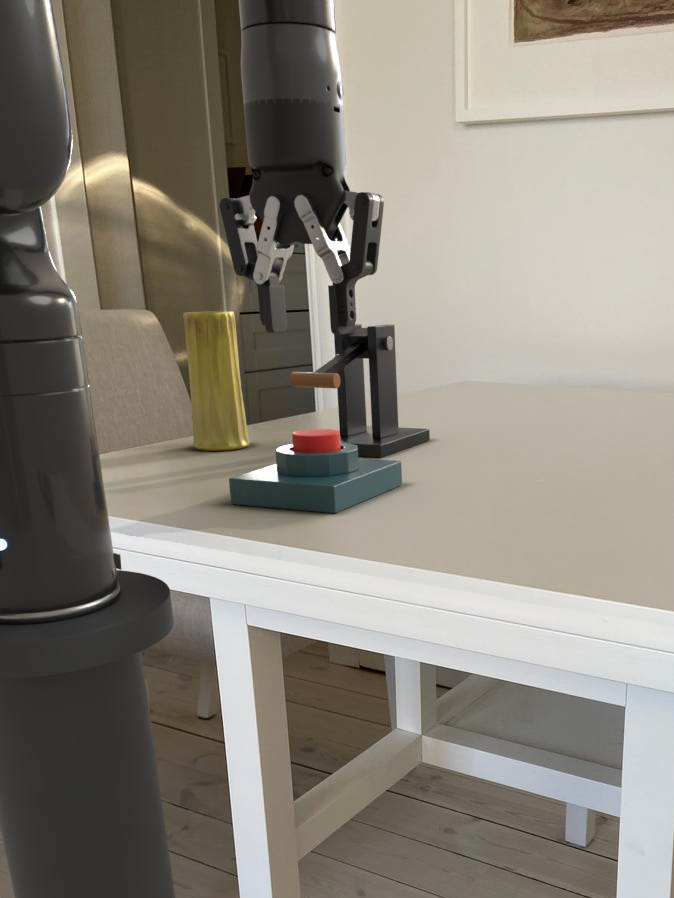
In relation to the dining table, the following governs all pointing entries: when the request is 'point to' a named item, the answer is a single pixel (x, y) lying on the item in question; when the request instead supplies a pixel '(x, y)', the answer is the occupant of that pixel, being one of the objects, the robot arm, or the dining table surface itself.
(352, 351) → the lever
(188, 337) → the vase
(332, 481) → the control block
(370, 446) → the bracket
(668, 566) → the dining table surface
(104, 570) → the robot arm
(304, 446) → the button
